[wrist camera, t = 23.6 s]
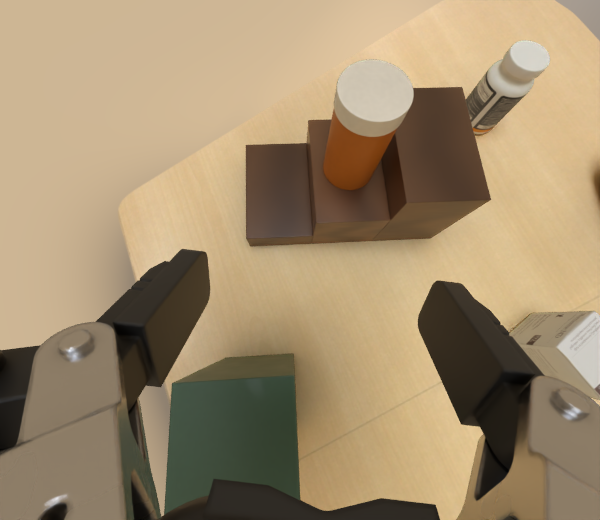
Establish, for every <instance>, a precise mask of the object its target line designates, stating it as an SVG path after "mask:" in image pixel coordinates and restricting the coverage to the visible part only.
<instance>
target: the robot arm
mask: <svg viewBox="0 0 600 520" xmlns="http://www.w3.org/2000/svg"><path fill="white" fill-rule="evenodd" d="M209 296H210V280H209V269H208V258H207V254H206V252H203V251H195V250H186V249H182V250H180V251H179V252H178V253H177V254H176V255H175V256H174V258H173V259H172V260H171V261H170V262H166V261H164V262H162V263H160V264H158V265H157V266H155V267H153V268H151V269H149V270H148V271H147V272H146V273H145V274H144V275H143V276H142V277H141V278H140V281H137V282H136V283H135V284H134V285H133V286H132V288H131V289H129V290H128V291H127V292H126V293H125V294H124V295H123V296H122V297H121V298H120V299H119V300H118V301H117V302H116V303H114V305H112V306H111V307H110V309H108V310H107V311H106V312H105V313H104V314H103V315H102V316H101V317H100V318H99V319H98V320H97V321H96V322H89V323H82V324H77V325H74V326H71V327H69V328H66V329H64V330H62V331H60V332H58V333H57V334H55V335H53V336H51V337H50V338H49V339H47V340H46V341H45V342H44V343H43V344H42V345H40V346H33V347H25V348H17V349H9V350H0V520H440V518H439V515H438V511H437V508H436V505H432V504H424V503H416V502H407V501H399V500H390V499H382V498H381V499H377V500H373V501H369V502H365V503H361V504H356V505H352V506H348V507H344V508H340V509H336V510H332V511H322V510H320V509H317V508H315V507H313V506H311V505H309V504H307V503H305V502H303V501H301V500H298V499H296V498H294V497H292V496H290V495H288V494H286V493H284V492H282V491H280V490H277V489H275V488H273V487H271V486H269V485H263V484H255V483H246V482H238V481H229V480H221V479H213V482H212V486H211V489H210V493H209V495H208V496H204V497H200V498H197V499H195V500H192V501H189V502H187V503H184V504H182V505H181V506H179V507H177V508H175V509H173V510H171V511H169V512H168V513H166V514H165V515H164V516H162V517H161V514H160V509H159V503H158V498H157V493H156V489H155V485H154V481H153V477H152V473H151V469H150V463H149V458H148V451H147V446H146V438H145V433H144V426H143V420H142V413H141V407H140V401H139V398H138V397H139V395H140V394H141V392H142V390H143V389H144V387H145V386H146V385H147V386H156V387H161V386H162V384H163V382H164V380H165V379H166V377H167V375H168V373H169V371H170V370H171V368H172V366H173V364H174V363H175V361H176V359H177V357H178V355H179V354H180V352H181V350H182V348H183V346H184V345H185V343H186V341H187V339H188V337H189V336H190V334H191V332H192V330H193V328H194V327H195V325H196V323H197V321H198V319H199V318H200V316H201V314H202V312H203V311H204V309H205V307H206V305H207V303H208V300H209ZM418 328H419V331H420V334H421V336H422V338H423V340H424V343H425V345H426V347H427V349H428V352H429V354H430V356H431V358H432V360H433V363H434V365H435V367H436V369H437V371H438V374H439V376H440V378H441V380H442V383H443V385H444V387H445V389H446V391H447V394H448V396H449V398H450V400H451V403H452V405H453V407H454V409H455V411H456V414H457V416H458V418H459V420H460V423H461V424H462V425H471V426H479V427H481V429H482V431H483V433H484V434H483V435H482V436H481V437H480V439H479V441H478V444H477V449H476V453H475V458H474V462H473V467H472V471H471V476H470V481H469V485H468V490H467V494H466V499H465V502H464V506H463V508H462V510H461V513H460V514H459V516H458V518H457V519H456V520H600V406H599V405H598V404H597V403H596V402H595V401H594V400H592V399H591V398H590V397H589V396H587V395H586V394H585V393H583V392H582V391H580V390H579V389H577V388H576V387H574V386H572V385H570V384H568V383H566V382H564V381H562V380H559V379H557V378H553V377H549V376H545V375H544V374H543V373H542V372H541V370H540V369H539V368H538V367H537V366H536V364H535V363H534V362H533V361H532V360H531V358H530V357H529V356H528V355H527V354H526V353H525V351H524V350H523V349H522V348H521V347H520V345H519V344H518V343H517V342H516V341H515V339H514V338H513V337H512V336H509V332H508V331H507V330H506V329H505V328H504V326H503V325H500V322H499V320H498V319H497V318H496V317H495V316H494V314H493V313H492V312H491V311H490V310H489V309H487V308H486V307H485V306H483V305H482V304H481V303H479V302H478V301H477V300H475V299H474V298H473V296H472V295H471V294H470V293H469V292H468V290H467V289H466V288H465V287H464V285H462V284H460V283H454V282H445V281H436V282H435V283H434V284H433V285H432V287H431V289H430V291H429V294H428V296H427V298H426V300H425V302H424V305H423V307H422V309H421V311H420V314H419V317H418Z"/></svg>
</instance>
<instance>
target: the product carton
mask: <svg viewBox="0 0 600 520" xmlns="http://www.w3.org/2000/svg"><path fill="white" fill-rule="evenodd" d="M509 336H512V337H513V338H514V339H515V341H516V342H517V343H518V344H519V345H520V347H521V348H522V349H523V350H524V351H525V353H526V354H527V355H528V356H529V357H530V358H531V360H532V361H533V362H534V363H535V364H536V366H537V367H538V368H539V369H540V370H541V372H542V373H543V374H544V375H545V376H549V377H553V378H557V379H559V380H562V381H564V382H566V383H568V384H570V385H572V386H574V387H576V388H577V389H579V390H580V391H582V392H583V393H585V394H586V395H587V396H589V397H590V398H594V399H598V400H600V315H599V314H598V313H597V312H595V311H579V312H548V313H531V314H530V315H529V316H528V317H527V318H526V319H525V320H524V321H523V322H521V323H520V324H519V325H518V326H517V327H516V328H515V329H514V330H512V331H511V332H510V333H509Z"/></svg>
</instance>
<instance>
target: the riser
mask: <svg viewBox="0 0 600 520" xmlns="http://www.w3.org/2000/svg"><path fill="white" fill-rule="evenodd" d="M413 91H414V97H413V102H412V104H411V106H410V108H409V110H408V112H407V114H406V116H405V118H404V119H403V121H402V123H401V124H400V126H399V127H398V128H397V130H396V132H395V134H394V136H393V137H392V139H391V141H390V143H389V145H388V147H387V149H386V151H385V153H384V154H383V156H382V158H381V160H380V162H379V164H378V166H377V168H376V170H375V171H374V173H373V175H372V177H371V179H370V181H369V182H368V183H367V184H366V185H364V186H363V187H361V188H359V189H355V190H344V189H340V188H338V187H336V186H334V185H333V184H331V183H330V182H329V180H328V179H327V178H326V176H325V174H324V170H323V163H324V158H325V152H326V147H327V142H328V136H329V131H330V126H331V121H332V120H309V121H308V132H307V144H306V143H300V144H266V145H246V239H247V241H248V243H249V244H250V246H264V245H287V244H309V243H332V242H354V241H378V240H400V239H423V238H432V237H433V236H435V235H436V234H438V233H439V232H441V231H443V230H444V229H446V228H447V227H449V226H450V225H452V224H453V223H455V222H457V221H458V220H460V219H461V218H463V217H464V216H466V215H468V214H469V213H471V212H472V211H474V210H475V209H477V208H479V207H480V206H482V205H483V204H485V203H486V202H488V201H490V200H491V198H490V194H489V190H488V186H487V182H486V178H485V175H484V171H483V167H482V163H481V159H480V155H479V151H478V147H477V143H476V139H475V135H474V132H473V128H472V124H471V120H470V116H469V112H468V108H467V104H466V100H465V96H464V92H463V88H462V87H447V88H413Z"/></svg>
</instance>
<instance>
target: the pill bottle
mask: <svg viewBox="0 0 600 520" xmlns="http://www.w3.org/2000/svg"><path fill="white" fill-rule="evenodd" d="M549 63H550V56H549V53H548V52H547V50H546V49H545V48H544V47H543V46H541V45H540V44H538V43H536V42H533V41H527V40H523V41H519V42H516V43H515V44H513V45H512V46H511V48H510V49H509V50H508V51H507V52H506V54H505V55H504V57H503V59H501V60H499V61H497V62H496V63H494V64H493V65H492V66H491V67H490V68H489V70H488V71H487V72H486V74H485V75H484V76H483V78H482V79H481V80H480V81H479V83H478V84H477V86H476V87H475V88H474V90H473V91H472V92H471V94H470V95H469V96H468V98H467V99H466V104H467V108H468V112H469V116H470V120H471V124H472V128H473V132H474V134H484V133H486V132H488V131H490V130H491V129H492V128H493V127H494V126H495V125H496V124H497V123H498V122H499V121H500V120H501V119H502V118H503V117H504V116H505V115H506V114H507V113H508V112H509V111H510V110H511V109H512V108H513V107H514V106H515V105H516V104H517V103H518V102H519V101H520V100H521V99H522V98H523V97H524V96H525V95H526V94H527V93H528V92H529V91H530V89H531V88H532V86H533V83H534V79H535V78H537V77H538V76H539V75H540V74H541V73H542V72H543V71H544V70H545V69H546V68H547V66H548V65H549Z"/></svg>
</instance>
